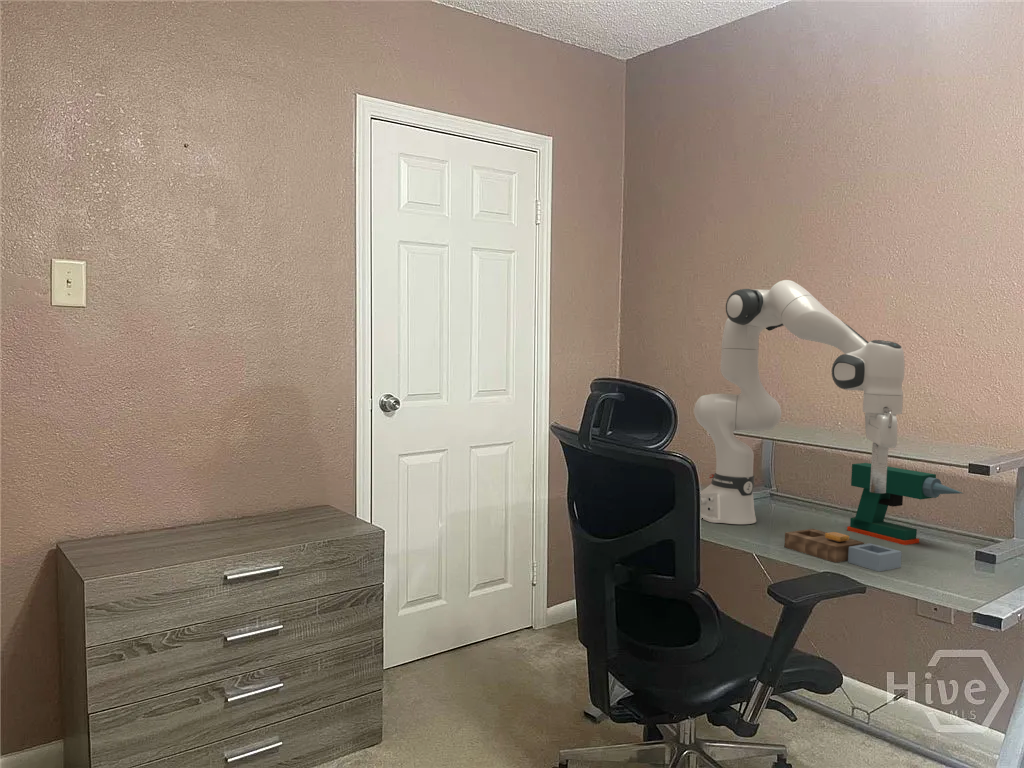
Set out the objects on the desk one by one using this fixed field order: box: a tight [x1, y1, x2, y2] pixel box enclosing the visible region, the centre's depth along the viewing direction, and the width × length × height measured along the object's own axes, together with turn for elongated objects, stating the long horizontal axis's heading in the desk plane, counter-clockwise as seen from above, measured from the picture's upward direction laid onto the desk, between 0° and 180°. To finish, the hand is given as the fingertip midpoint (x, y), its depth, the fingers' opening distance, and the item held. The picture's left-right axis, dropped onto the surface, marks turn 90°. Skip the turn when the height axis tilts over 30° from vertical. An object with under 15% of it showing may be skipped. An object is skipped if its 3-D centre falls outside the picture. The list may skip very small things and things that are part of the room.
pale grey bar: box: [870, 442, 889, 493], centre depth 192 cm, size 4×4×12 cm
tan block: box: [825, 531, 850, 543], centre depth 200 cm, size 4×4×5 cm
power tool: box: [846, 462, 963, 546], centre depth 217 cm, size 32×7×20 cm, turn 30°
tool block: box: [784, 528, 865, 564], centre depth 204 cm, size 16×11×4 cm
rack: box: [847, 543, 903, 573], centre depth 193 cm, size 9×9×4 cm
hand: (879, 461), depth 192 cm, fingers closed on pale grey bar, 4 cm apart
